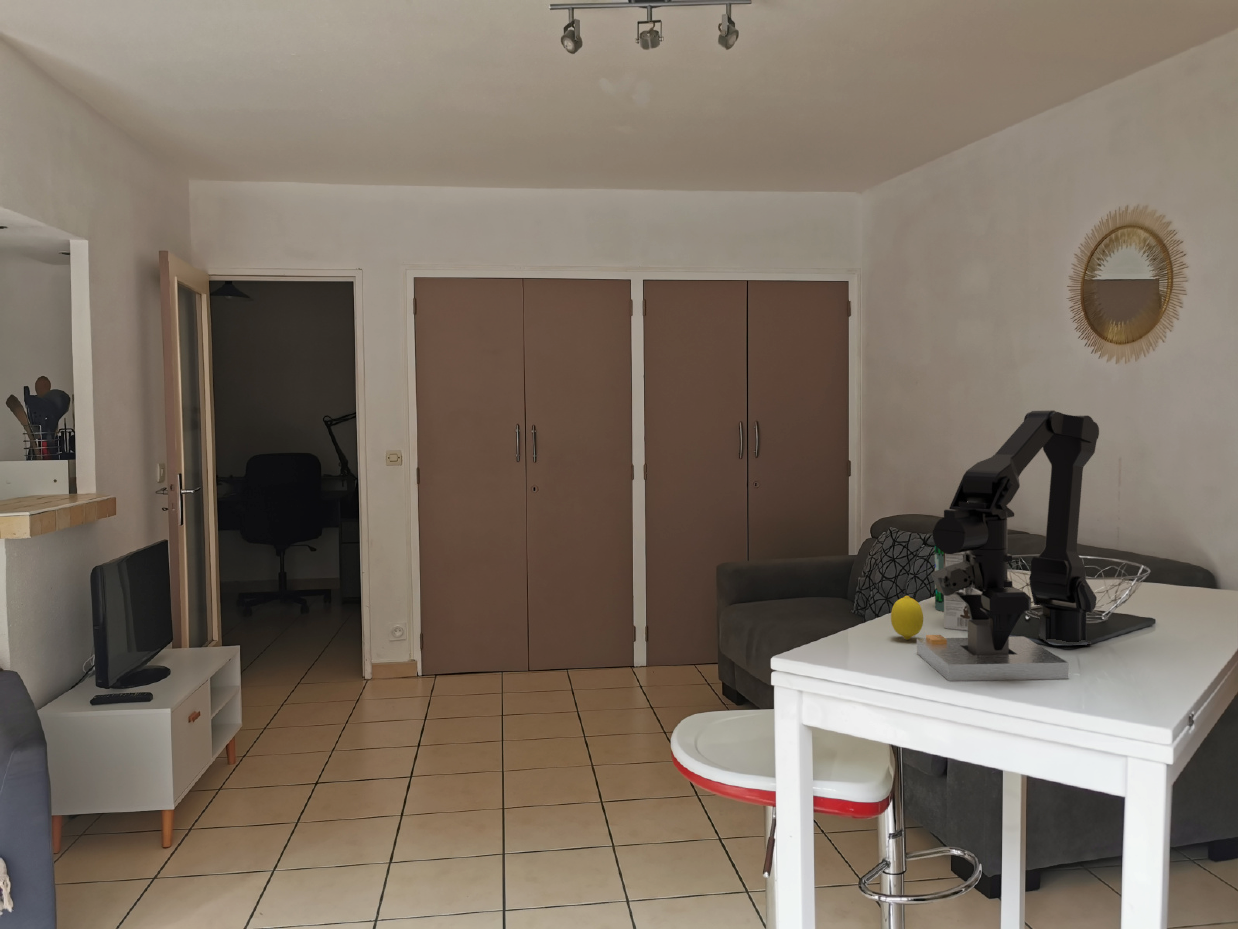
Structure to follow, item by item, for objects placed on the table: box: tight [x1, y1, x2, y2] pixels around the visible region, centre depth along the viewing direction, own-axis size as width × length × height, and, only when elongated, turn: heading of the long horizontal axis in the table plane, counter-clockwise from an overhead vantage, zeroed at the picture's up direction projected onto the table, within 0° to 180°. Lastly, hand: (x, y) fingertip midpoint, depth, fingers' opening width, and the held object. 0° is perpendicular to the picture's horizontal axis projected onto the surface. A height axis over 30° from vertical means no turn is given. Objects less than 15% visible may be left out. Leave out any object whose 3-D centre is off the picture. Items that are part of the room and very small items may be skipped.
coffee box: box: [943, 551, 971, 632], centre depth 172 cm, size 9×6×16 cm
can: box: [934, 543, 944, 613], centre depth 186 cm, size 6×6×15 cm
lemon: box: [890, 595, 924, 641], centre depth 163 cm, size 6×6×8 cm
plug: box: [967, 620, 1010, 655], centre depth 146 cm, size 5×4×7 cm
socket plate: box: [916, 634, 1069, 682], centre depth 146 cm, size 18×16×3 cm
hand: (988, 643), depth 146 cm, fingers open, 8 cm apart
